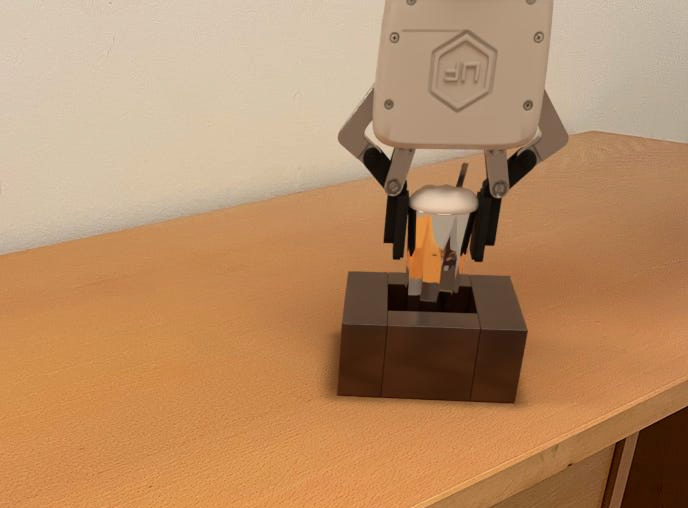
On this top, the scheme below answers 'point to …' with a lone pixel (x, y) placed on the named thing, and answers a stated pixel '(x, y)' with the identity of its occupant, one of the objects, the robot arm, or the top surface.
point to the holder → (431, 341)
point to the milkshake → (438, 244)
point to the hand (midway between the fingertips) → (436, 252)
